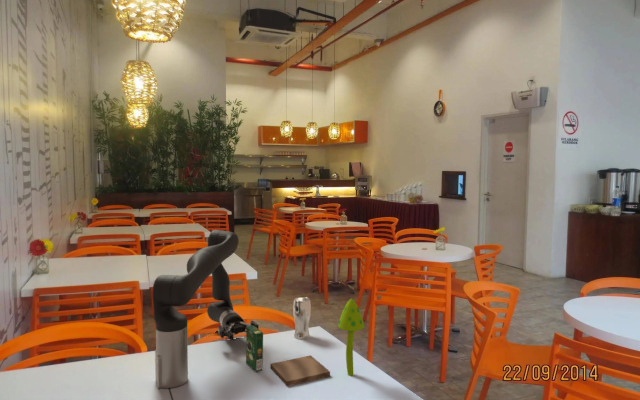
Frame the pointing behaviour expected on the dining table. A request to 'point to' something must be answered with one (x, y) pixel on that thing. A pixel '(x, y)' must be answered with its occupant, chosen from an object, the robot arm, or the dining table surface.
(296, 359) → the walnut board
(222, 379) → the dining table surface
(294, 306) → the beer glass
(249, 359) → the coffee box
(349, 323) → the mushroom
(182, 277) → the robot arm
